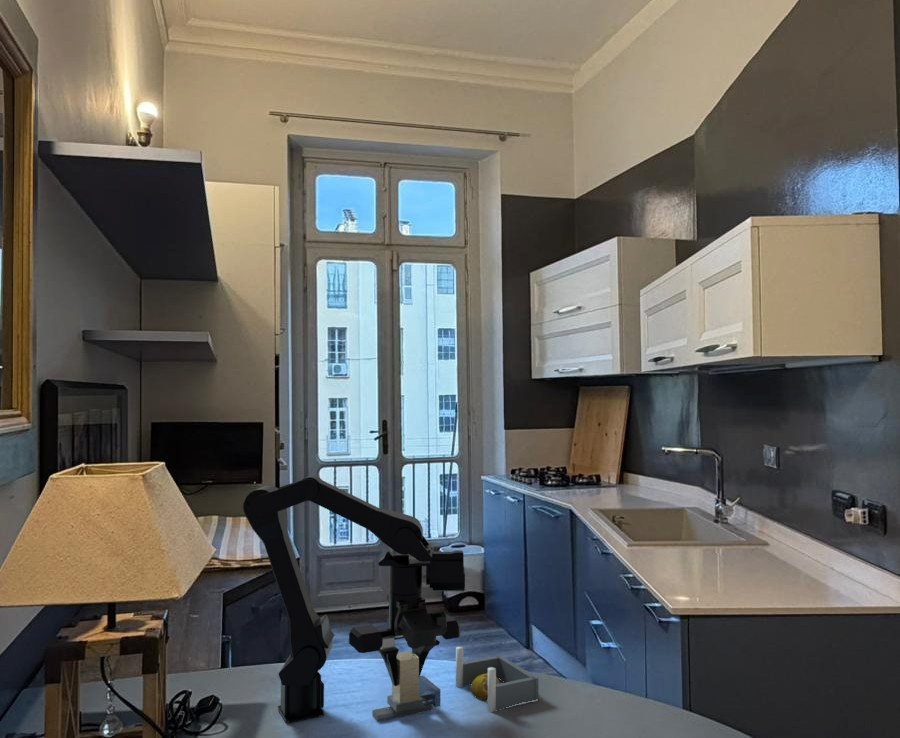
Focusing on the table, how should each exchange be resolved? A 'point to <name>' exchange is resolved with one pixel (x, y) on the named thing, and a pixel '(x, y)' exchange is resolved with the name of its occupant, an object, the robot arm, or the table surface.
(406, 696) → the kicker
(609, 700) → the table surface
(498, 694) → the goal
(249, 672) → the table surface
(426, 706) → the rail
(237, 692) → the table surface
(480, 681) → the fruit
